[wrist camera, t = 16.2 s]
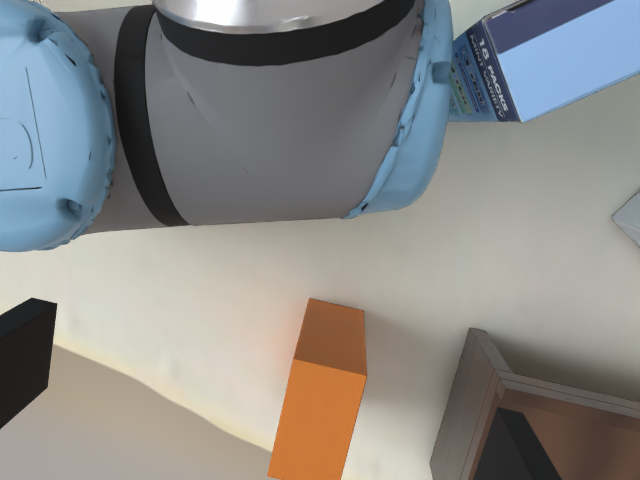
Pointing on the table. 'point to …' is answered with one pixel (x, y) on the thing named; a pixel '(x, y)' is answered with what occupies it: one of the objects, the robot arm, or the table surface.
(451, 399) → the wooden bench
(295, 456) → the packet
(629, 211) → the cosmetics box
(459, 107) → the gum box
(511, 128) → the table surface
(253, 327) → the table surface
